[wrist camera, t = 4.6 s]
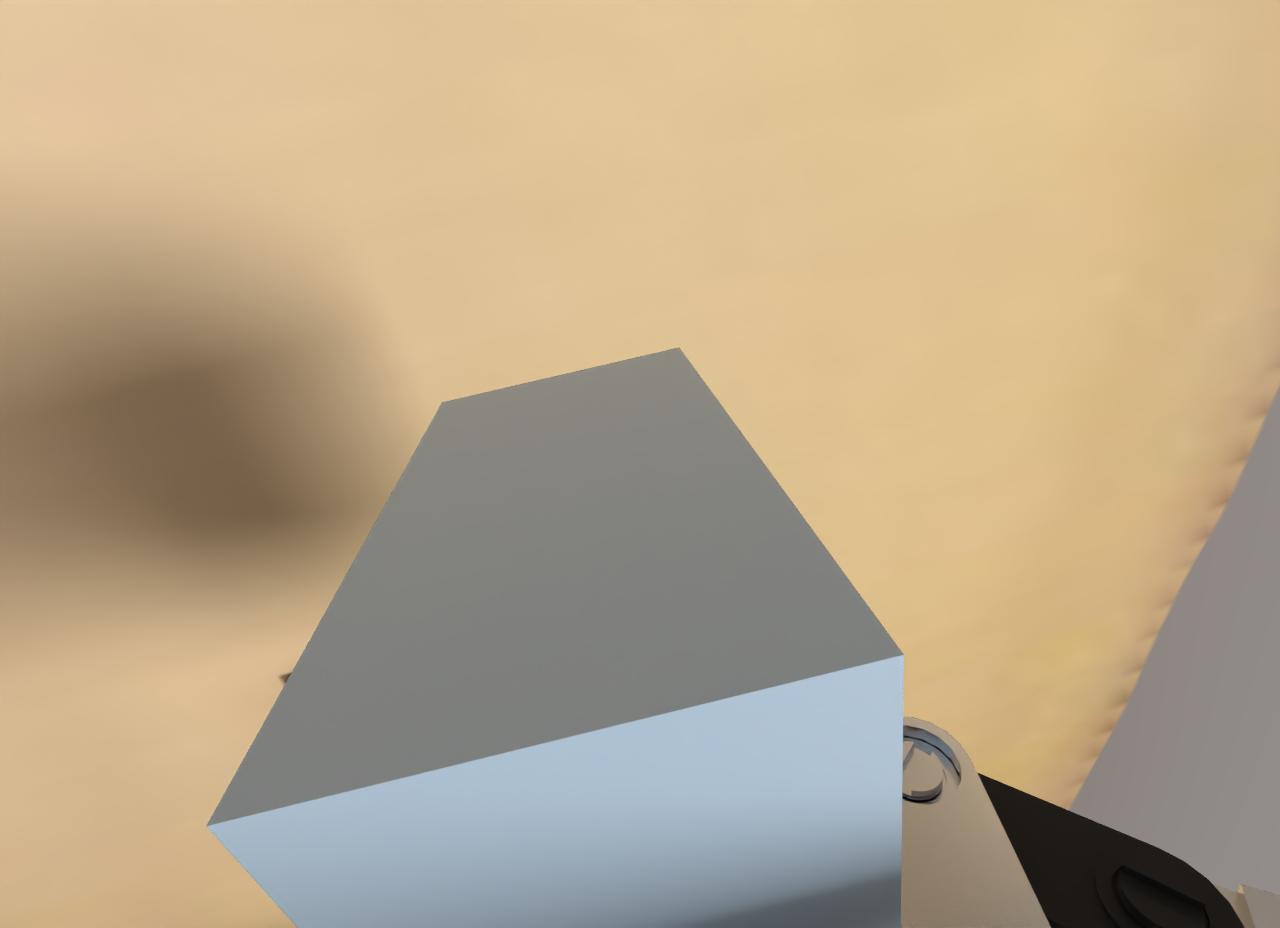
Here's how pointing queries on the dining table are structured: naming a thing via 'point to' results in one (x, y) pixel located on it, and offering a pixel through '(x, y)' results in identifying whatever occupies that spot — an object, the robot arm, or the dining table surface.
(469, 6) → the dining table surface
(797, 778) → the pale blue upright box
